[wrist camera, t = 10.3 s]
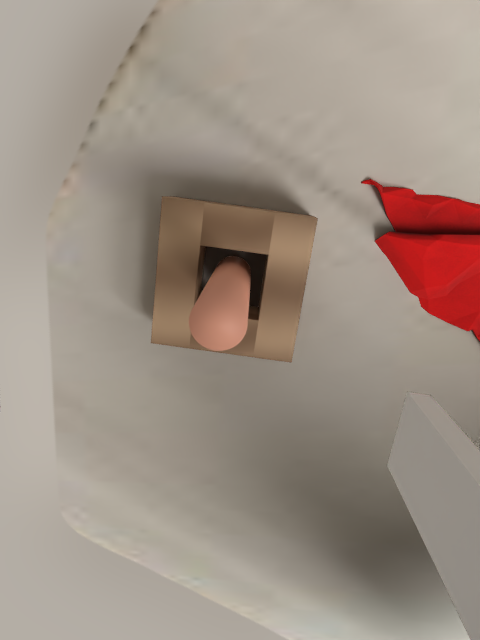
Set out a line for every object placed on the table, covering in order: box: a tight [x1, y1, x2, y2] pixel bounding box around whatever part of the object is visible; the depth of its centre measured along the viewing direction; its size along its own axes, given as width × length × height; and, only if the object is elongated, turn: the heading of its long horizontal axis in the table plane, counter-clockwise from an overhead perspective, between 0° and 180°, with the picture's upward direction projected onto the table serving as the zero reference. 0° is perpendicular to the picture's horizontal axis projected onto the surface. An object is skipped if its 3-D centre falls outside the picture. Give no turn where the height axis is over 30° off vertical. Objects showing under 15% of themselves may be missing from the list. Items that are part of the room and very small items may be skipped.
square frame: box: [151, 196, 318, 362], centre depth 33 cm, size 11×11×4 cm
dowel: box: [189, 256, 251, 351], centre depth 28 cm, size 3×3×14 cm
